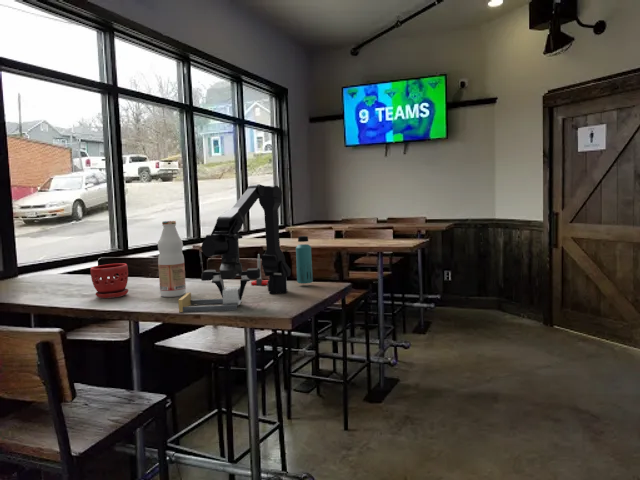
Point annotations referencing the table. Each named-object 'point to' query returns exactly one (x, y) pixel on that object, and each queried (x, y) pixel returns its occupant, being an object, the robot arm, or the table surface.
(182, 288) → the fruit juice
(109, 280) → the plant pot
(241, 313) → the table surface
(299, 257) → the beverage bottle
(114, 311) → the table surface
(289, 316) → the table surface
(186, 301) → the guide rails
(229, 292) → the aluminium lock block
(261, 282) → the receipt spike
